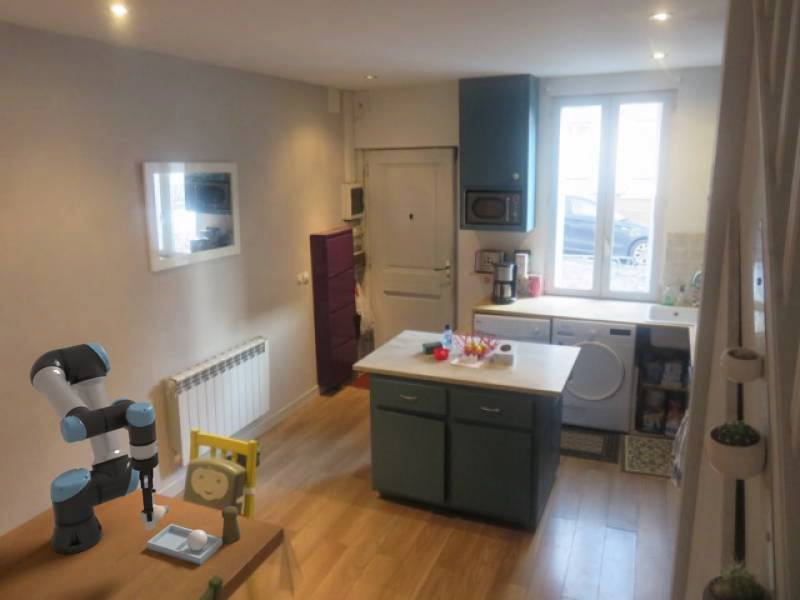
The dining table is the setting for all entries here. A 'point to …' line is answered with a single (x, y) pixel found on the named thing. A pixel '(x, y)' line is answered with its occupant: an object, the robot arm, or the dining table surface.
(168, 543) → the tray
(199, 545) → the white ball
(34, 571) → the dining table surface
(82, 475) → the robot arm
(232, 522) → the pepper mill
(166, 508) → the light bulb
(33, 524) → the dining table surface
